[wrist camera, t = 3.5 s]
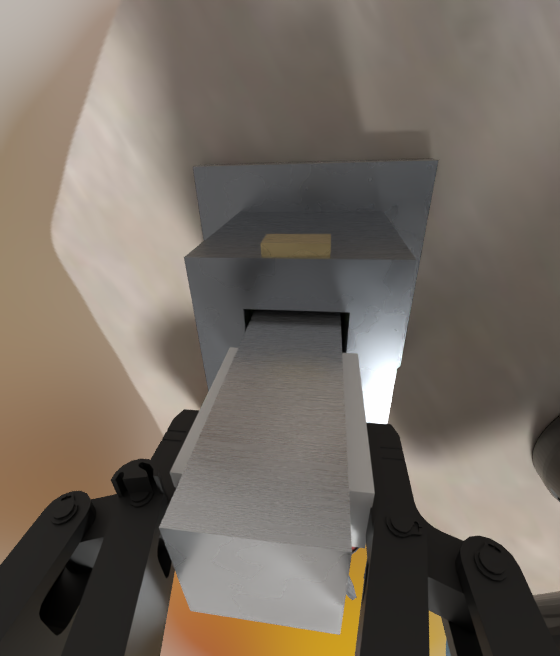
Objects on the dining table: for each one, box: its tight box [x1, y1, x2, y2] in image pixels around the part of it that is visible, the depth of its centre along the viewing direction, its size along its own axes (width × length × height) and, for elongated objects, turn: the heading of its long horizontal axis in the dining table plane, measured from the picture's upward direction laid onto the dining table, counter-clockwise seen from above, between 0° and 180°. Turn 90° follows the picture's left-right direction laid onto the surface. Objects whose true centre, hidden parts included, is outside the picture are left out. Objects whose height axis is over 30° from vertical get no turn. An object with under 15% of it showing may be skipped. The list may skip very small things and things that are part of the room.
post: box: [159, 309, 352, 634], centre depth 17 cm, size 4×4×20 cm
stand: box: [184, 159, 438, 424], centre depth 22 cm, size 16×16×12 cm
